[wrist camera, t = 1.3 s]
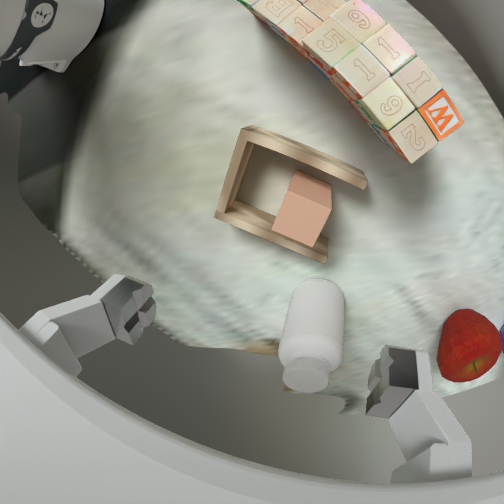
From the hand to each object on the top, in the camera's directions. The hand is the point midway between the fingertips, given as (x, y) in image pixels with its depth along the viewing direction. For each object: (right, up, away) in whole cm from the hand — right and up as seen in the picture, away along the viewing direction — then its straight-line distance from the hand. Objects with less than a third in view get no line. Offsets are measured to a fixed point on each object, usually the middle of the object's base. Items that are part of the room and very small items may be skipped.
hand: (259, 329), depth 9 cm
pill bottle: (+10, -4, +32) cm, 34 cm away
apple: (+34, -8, +27) cm, 44 cm away
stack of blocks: (+9, +24, +15) cm, 30 cm away
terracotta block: (+6, +10, +24) cm, 27 cm away
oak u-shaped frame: (+4, +10, +24) cm, 27 cm away
